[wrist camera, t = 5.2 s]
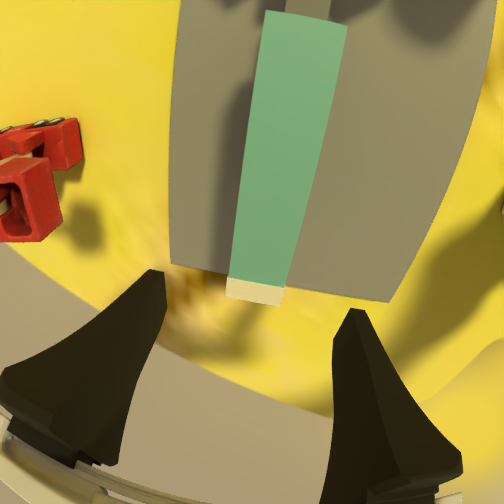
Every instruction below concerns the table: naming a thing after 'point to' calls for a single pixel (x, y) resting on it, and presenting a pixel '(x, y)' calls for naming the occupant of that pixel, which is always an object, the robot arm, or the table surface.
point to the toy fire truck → (34, 176)
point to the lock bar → (282, 149)
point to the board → (330, 133)
